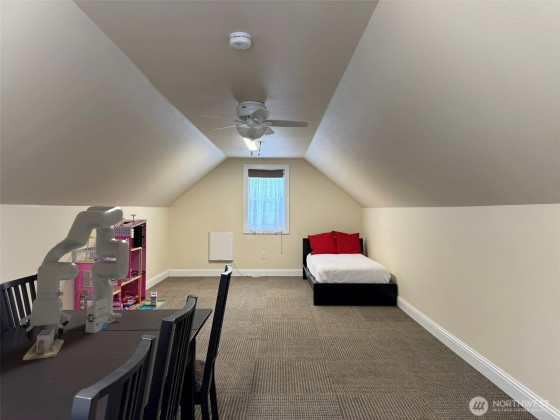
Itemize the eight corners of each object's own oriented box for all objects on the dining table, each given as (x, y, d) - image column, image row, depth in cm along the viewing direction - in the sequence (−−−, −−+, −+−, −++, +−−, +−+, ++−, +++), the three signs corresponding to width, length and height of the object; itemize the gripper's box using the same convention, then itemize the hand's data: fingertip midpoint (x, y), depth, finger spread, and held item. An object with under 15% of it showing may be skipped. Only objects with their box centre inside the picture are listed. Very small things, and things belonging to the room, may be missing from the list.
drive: (53, 343, 134) (54, 328, 135) (48, 350, 127) (49, 334, 127) (41, 345, 133) (42, 329, 133) (36, 352, 125) (37, 335, 126)
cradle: (63, 342, 139) (64, 327, 139) (55, 356, 124) (56, 340, 125) (35, 345, 135) (36, 330, 135) (22, 360, 120) (23, 343, 121)
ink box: (98, 326, 160) (100, 296, 161) (107, 327, 159) (108, 297, 160) (84, 332, 152) (86, 300, 152) (94, 333, 151) (95, 301, 151)
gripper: (74, 292, 138) (72, 333, 137) (24, 295, 131) (21, 338, 130) (71, 296, 131) (69, 339, 130) (18, 299, 124) (15, 345, 123)
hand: (45, 339), depth 130 cm, fingers open, 9 cm apart
